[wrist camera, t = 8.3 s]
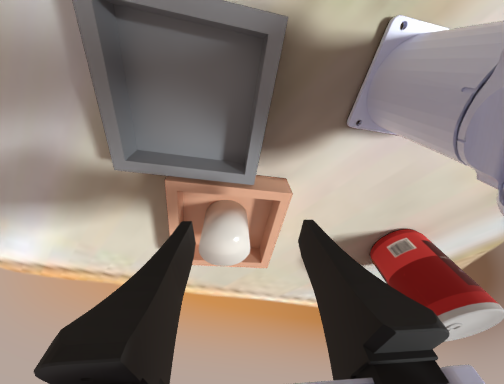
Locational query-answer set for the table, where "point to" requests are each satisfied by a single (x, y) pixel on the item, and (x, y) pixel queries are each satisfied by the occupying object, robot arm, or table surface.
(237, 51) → the bin
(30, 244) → the table surface
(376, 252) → the canned food
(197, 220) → the dump bin
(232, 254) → the white rounded cylinder
